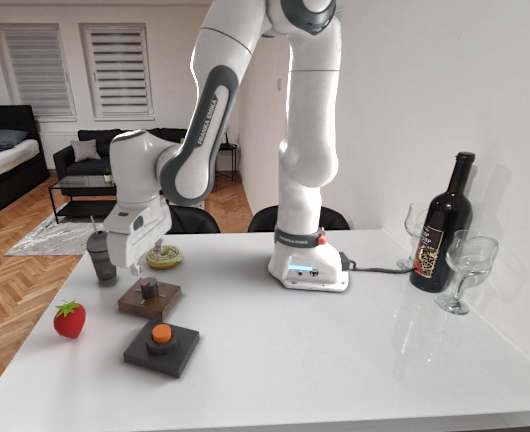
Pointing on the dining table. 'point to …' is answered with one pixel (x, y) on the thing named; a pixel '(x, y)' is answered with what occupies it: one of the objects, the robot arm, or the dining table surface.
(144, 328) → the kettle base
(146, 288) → the temp dial
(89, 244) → the beverage cup
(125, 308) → the panel
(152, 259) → the decorated donut
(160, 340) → the orange button cap
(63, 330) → the strawberry
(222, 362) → the dining table surface
